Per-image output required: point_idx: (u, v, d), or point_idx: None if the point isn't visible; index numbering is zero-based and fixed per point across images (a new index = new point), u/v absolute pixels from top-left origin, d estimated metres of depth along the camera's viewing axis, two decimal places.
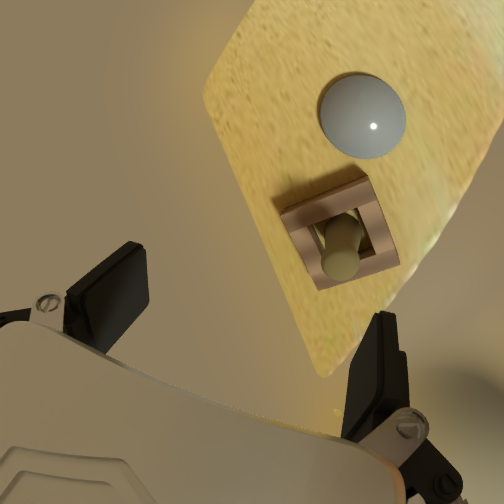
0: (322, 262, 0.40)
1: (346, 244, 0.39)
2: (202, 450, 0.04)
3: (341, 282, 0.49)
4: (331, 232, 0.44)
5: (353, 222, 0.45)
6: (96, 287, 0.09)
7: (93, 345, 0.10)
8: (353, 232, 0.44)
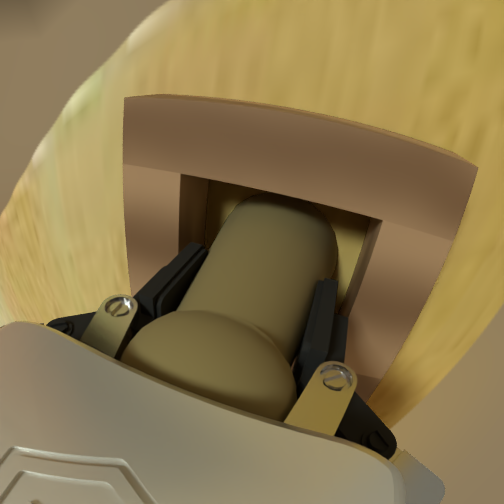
0: None
1: None
2: (202, 450, 0.04)
3: (370, 138, 0.10)
4: None
5: None
6: (170, 289, 0.10)
7: None
8: None
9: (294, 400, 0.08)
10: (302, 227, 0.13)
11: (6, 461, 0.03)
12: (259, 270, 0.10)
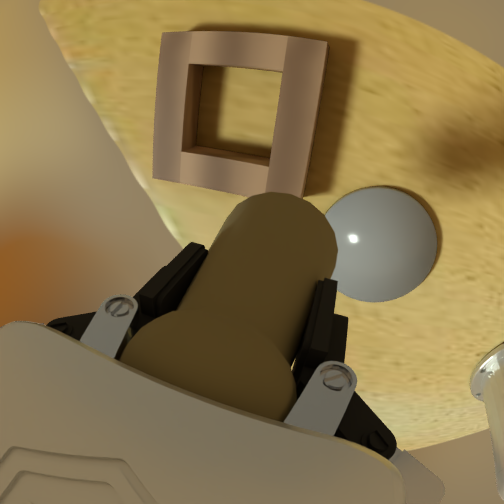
0: None
1: None
2: (202, 450, 0.04)
3: (159, 75, 0.24)
4: None
5: None
6: (170, 289, 0.10)
7: None
8: None
9: (294, 400, 0.08)
10: (302, 226, 0.13)
11: (6, 461, 0.03)
12: (259, 270, 0.10)
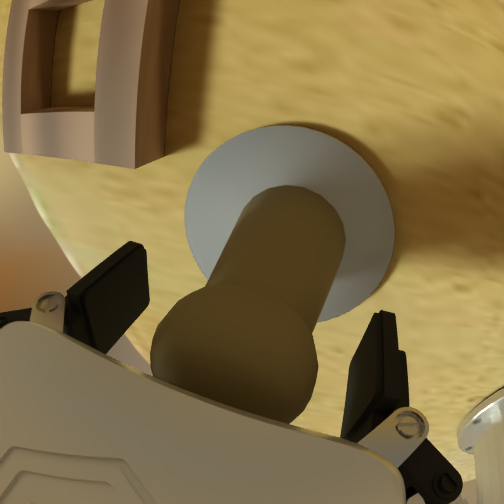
0: None
1: None
2: (202, 450, 0.04)
3: (8, 32, 0.13)
4: None
5: None
6: (97, 287, 0.09)
7: (93, 345, 0.10)
8: None
9: (316, 365, 0.09)
10: (316, 216, 0.14)
11: (6, 461, 0.03)
12: (281, 252, 0.11)
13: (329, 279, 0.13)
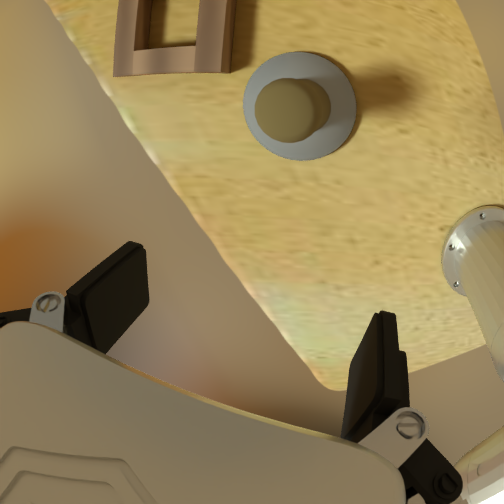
0: (310, 130, 0.22)
1: None
2: (202, 450, 0.04)
3: (120, 4, 0.26)
4: None
5: None
6: (96, 287, 0.09)
7: (93, 345, 0.10)
8: None
9: (321, 103, 0.22)
10: (313, 84, 0.27)
11: (6, 461, 0.03)
12: None
13: (323, 103, 0.26)
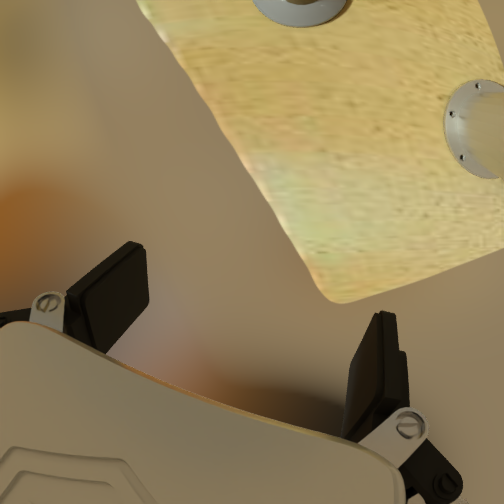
0: None
1: None
2: (202, 450, 0.04)
3: None
4: None
5: None
6: (96, 287, 0.09)
7: (93, 345, 0.10)
8: None
9: None
10: None
11: (6, 461, 0.03)
12: None
13: None
